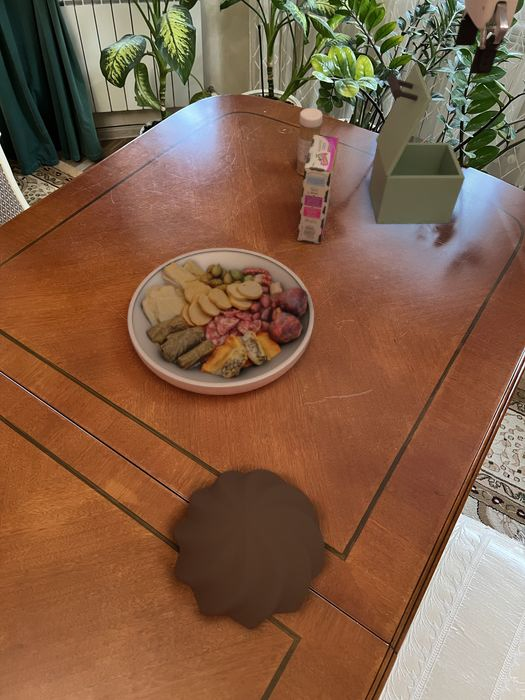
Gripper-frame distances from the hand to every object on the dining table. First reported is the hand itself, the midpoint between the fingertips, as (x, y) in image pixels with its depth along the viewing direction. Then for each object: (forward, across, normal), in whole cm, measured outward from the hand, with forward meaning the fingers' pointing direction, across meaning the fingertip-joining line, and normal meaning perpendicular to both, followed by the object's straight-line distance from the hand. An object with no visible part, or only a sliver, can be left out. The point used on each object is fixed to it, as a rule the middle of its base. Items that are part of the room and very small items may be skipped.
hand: (471, 58), depth 94 cm
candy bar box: (+30, -6, +24) cm, 39 cm away
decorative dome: (+30, -69, +38) cm, 85 cm away
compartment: (+30, 0, +4) cm, 30 cm away
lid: (+11, 0, +9) cm, 14 cm away
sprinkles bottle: (+30, +12, +24) cm, 40 cm away
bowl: (+30, -33, +42) cm, 61 cm away
